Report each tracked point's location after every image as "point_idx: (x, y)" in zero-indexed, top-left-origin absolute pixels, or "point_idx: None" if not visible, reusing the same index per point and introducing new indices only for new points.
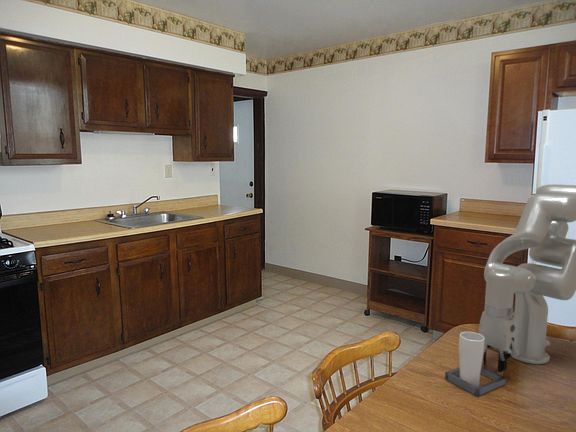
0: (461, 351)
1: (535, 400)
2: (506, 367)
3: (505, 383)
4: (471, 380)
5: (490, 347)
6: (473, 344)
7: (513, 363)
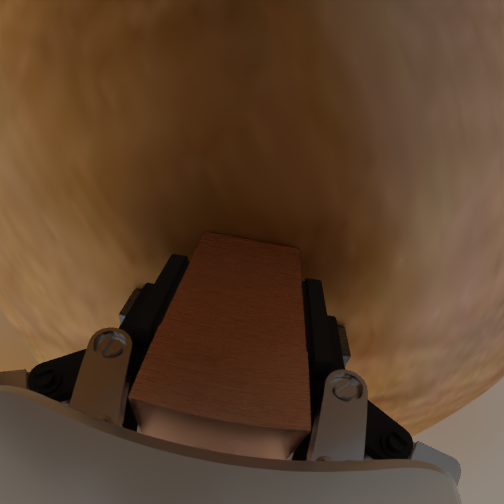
0: None
1: (460, 341)
2: (335, 322)
3: (344, 333)
4: None
5: (156, 433)
6: None
7: None
